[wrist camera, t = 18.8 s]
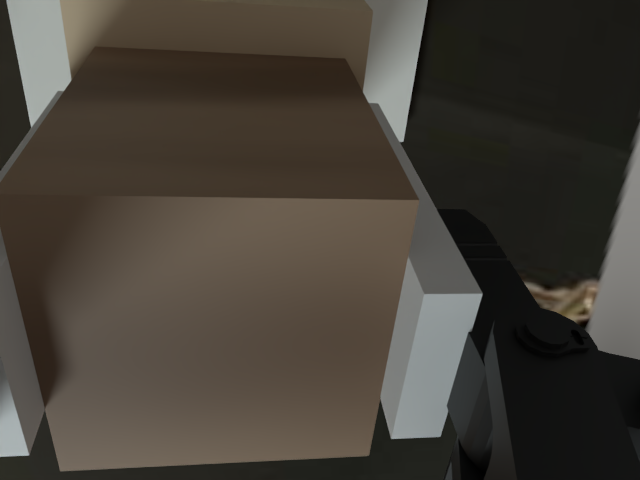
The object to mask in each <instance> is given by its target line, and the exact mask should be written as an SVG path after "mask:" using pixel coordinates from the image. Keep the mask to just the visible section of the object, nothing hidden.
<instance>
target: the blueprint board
mask: <svg viewBox="0 0 640 480" xmlns="http://www.w3.org/2000/svg"><path fill="white" fill-rule="evenodd" d="M6 1H7V6H8V11H9V16H10V21H11V27H12V32H13V37H14V42H15V47H16V52H17V57H18V62H19V67H20V72H21V78H22V83H23V88H24V93H25V98H26V103H27V108H28V113H29V118H30V123H31V128H32V126H33V125H34V124H35V122H36V121H37V119H38V118H39V117H40V115H41V114H42V112H43V111H44V110H45V108H46V107H47V105H48V104H49V103H50V101H51V100H52V98H53V97H54V96H55V94H56V93H57V91H64V90H65V89H66V87H67V86H68V85H69V83H70V82H71V74H70V67H69V60H68V53H67V47H66V40H65V33H64V27H63V20H62V13H61V7H60V0H6ZM365 2H366V3H367V4H368V5H369V7H370V8H371V9H372V10H373V17H372V25H371V33H370V40H369V48H368V56H367V64H366V72H365V80H364V87H363V93H364V95H365V97H366V99H367V101H368V103H378V104H379V106H380V108H381V109H382V111H383V113H384V115H385V117H386V118H387V120H388V122H389V124H390V126H391V128H392V129H393V131H394V133H395V135H396V137H397V138H398V140H399V142H403V140H404V135H405V129H406V123H407V117H408V112H409V106H410V100H411V95H412V89H413V83H414V77H415V72H416V66H417V60H418V54H419V49H420V43H421V37H422V32H423V26H424V20H425V14H426V9H427V3H428V0H365Z"/></svg>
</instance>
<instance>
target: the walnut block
mask: <svg viewBox="0 0 640 480" xmlns="http://www.w3.org/2000/svg"><path fill="white" fill-rule="evenodd" d="M418 205H419V198H418V196H417V194H416V193H415V191H414V189H413V187H412V185H411V183H410V181H409V179H408V177H407V175H406V173H405V172H404V170H403V168H402V166H401V164H400V162H399V160H398V158H397V156H396V154H395V152H394V150H393V149H392V147H391V145H390V143H389V141H388V139H387V137H386V135H385V133H384V131H383V129H382V128H381V126H380V124H379V122H378V120H377V118H376V116H375V114H374V112H373V110H372V108H371V106H370V105H369V103H368V101H367V99H366V97H365V95H364V93H363V91H362V89H361V87H360V85H359V84H358V82H357V80H356V78H355V76H354V74H353V72H352V70H351V68H350V66H349V64H348V62H347V61H346V59H344V58H323V57H302V56H282V55H261V54H240V53H220V52H199V51H178V50H158V49H137V48H116V47H96V46H95V47H94V49H93V50H92V52H91V53H90V55H89V56H88V57H87V59H86V60H85V62H84V63H83V65H82V66H81V67H80V69H79V70H78V72H77V73H76V75H75V76H74V77H73V79H72V80H71V82H70V83H69V85H68V86H67V87H66V89H65V90H64V92H63V93H62V95H61V96H60V98H59V99H58V100H57V102H56V103H55V105H54V106H53V108H52V109H51V110H50V112H49V113H48V115H47V116H46V118H45V119H44V120H43V122H42V123H41V125H40V126H39V128H38V129H37V130H36V132H35V133H34V135H33V136H32V138H31V139H30V140H29V142H28V143H27V145H26V146H25V148H24V149H23V150H22V152H21V153H20V155H19V156H18V158H17V159H16V160H15V162H14V163H13V165H12V166H11V168H10V169H9V171H8V172H7V173H6V175H5V176H4V178H3V179H2V181H1V182H0V229H1V233H2V237H3V241H4V245H5V249H6V253H7V257H8V261H9V265H10V269H11V273H12V277H13V281H14V285H15V289H16V293H17V297H18V301H19V306H20V310H21V314H22V318H23V322H24V326H25V330H26V334H27V338H28V342H29V346H30V350H31V354H32V358H33V362H34V366H35V371H36V375H37V379H38V383H39V387H40V391H41V395H42V399H43V403H44V407H45V411H46V415H47V419H48V423H49V427H50V431H51V435H52V439H53V443H54V448H55V452H56V456H57V460H58V464H59V468H60V471H74V470H94V469H114V468H135V467H155V466H175V465H195V464H215V463H235V462H255V461H275V460H295V459H315V458H335V457H356V456H369V452H370V447H371V442H372V437H373V432H374V427H375V422H376V417H377V412H378V407H379V402H380V395H381V390H382V385H383V380H384V375H385V370H386V365H387V360H388V355H389V350H390V345H391V340H392V335H393V330H394V325H395V320H396V315H397V310H398V305H399V300H400V295H401V290H402V285H403V280H404V275H405V270H406V265H407V259H408V255H409V250H410V245H411V240H412V235H413V230H414V225H415V220H416V215H417V210H418Z"/></svg>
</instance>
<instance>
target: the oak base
mask: <svg viewBox="0 0 640 480" xmlns="http://www.w3.org/2000/svg"><path fill="white" fill-rule="evenodd" d="M60 7H61V13H62V20H63V27H64V33H65V40H66V47H67V53H68V60H69V67H70V74H71V80H72V79H73V77H74V76H75V75H76V73H77V72H78V70H79V69H80V67H81V66H82V65H83V63H84V62H85V60H86V59H87V57H88V56H89V55H90V53H91V52H92V50H93V49H94V47H95V46H96V47H116V48H137V49H158V50H178V51H199V52H220V53H240V54H261V55H282V56H302V57H323V58H344V59H346V61H347V62H348V64H349V66H350V68H351V70H352V72H353V74H354V76H355V78H356V80H357V82H358V84H359V85H360V87H361V89H362V91H363V87H364V80H365V72H366V64H367V56H368V48H369V40H370V33H371V25H372V17H373V10H372V9H371V8H370V7H369V5H368V4H367V3H366V2H365V0H60Z"/></svg>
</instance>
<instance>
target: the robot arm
mask: <svg viewBox="0 0 640 480" xmlns="http://www.w3.org/2000/svg"><path fill="white" fill-rule="evenodd" d="M63 92H64V91H57V93H56V94H55V96H54V97H53V98H52V100H51V101H50V103H49V104H48V105H47V107H46V108H45V110H44V111H43V112H42V114H41V115H40V117H39V118H38V119H37V121H36V122H35V124H34V125H33V126H32V128H31V129H30V131H29V132H28V133H27V135H26V136H25V138H24V139H23V140H22V142H21V143H20V145H19V146H18V147H17V149H16V150H15V152H14V153H13V154H12V156H11V157H10V159H9V160H8V161H7V163H6V164H5V166H4V167H3V168H2V170H1V171H0V182H1V181H2V179H3V178H4V176H5V175H6V173H7V172H8V171H9V169H10V168H11V166H12V165H13V163H14V162H15V160H16V159H17V158H18V156H19V155H20V153H21V152H22V150H23V149H24V148H25V146H26V145H27V143H28V142H29V140H30V139H31V138H32V136H33V135H34V133H35V132H36V130H37V129H38V128H39V126H40V125H41V123H42V122H43V120H44V119H45V118H46V116H47V115H48V113H49V112H50V110H51V109H52V108H53V106H54V105H55V103H56V102H57V100H58V99H59V98H60V96H61V95H62V93H63ZM369 105H370V106H371V108H372V110H373V112H374V114H375V116H376V118H377V120H378V122H379V124H380V126H381V128H382V129H383V131H384V133H385V135H386V137H387V139H388V141H389V143H390V145H391V147H392V149H393V150H394V152H395V154H396V156H397V158H398V160H399V162H400V164H401V166H402V168H403V170H404V172H405V173H406V175H407V177H408V179H409V181H410V183H411V185H412V187H413V189H414V191H415V193H416V194H417V196H418V198H419V205H418V210H417V215H416V220H415V225H414V230H413V235H412V240H411V245H410V250H409V255H408V259H407V265H406V270H405V275H404V280H403V285H402V290H401V295H400V300H399V305H398V310H397V315H396V320H395V325H394V330H393V335H392V340H391V345H390V350H389V355H388V360H387V365H386V370H385V375H384V380H383V385H382V390H381V395H380V398H381V402H382V406H383V410H384V413H385V417H386V421H387V425H388V429H389V432H390V436H391V439H400V438H422V437H440V436H441V433H442V430H443V426H444V423H445V420H446V416H447V413H448V411H449V414H450V416H451V419H452V422H453V424H454V427H455V429H456V432H457V435H458V436H457V439H456V442H455V445H454V448H453V451H452V454H451V457H450V461H449V464H448V467H447V470H446V473H445V476H444V479H443V480H640V360H638V359H633V358H629V357H624V356H619V355H615V354H609V353H606V352H603V351H599V350H598V348H597V346H596V345H595V343H594V342H593V340H592V338H591V337H590V335H589V334H588V333H587V332H586V331H585V330H584V329H583V328H581V327H580V326H579V325H578V324H576V323H575V322H574V321H572V320H570V319H568V318H566V317H564V316H562V315H560V314H558V313H556V312H554V311H550V310H546V309H542V308H540V307H539V305H538V304H537V302H536V301H535V299H534V298H533V296H532V295H531V293H530V292H529V290H528V288H527V287H526V285H525V284H524V282H523V281H522V279H521V278H520V276H519V275H518V273H517V272H516V270H515V269H514V267H513V266H512V264H511V263H510V261H507V259H506V258H507V256H506V255H505V253H504V252H503V250H502V249H501V247H500V246H497V241H496V240H495V238H494V237H493V235H492V234H491V232H490V231H489V229H488V228H487V226H486V225H485V224H484V223H483V222H481V221H480V220H478V219H477V218H476V217H474V216H473V215H472V214H470V213H469V212H468V211H466V210H460V209H436V208H435V206H434V204H433V202H432V200H431V198H430V197H429V195H428V193H427V191H426V189H425V188H424V186H423V184H422V182H421V180H420V178H419V177H418V175H417V173H416V171H415V169H414V168H413V166H412V164H411V162H410V160H409V158H408V157H407V155H406V153H405V151H404V149H403V148H402V146H401V144H400V142H399V140H398V138H397V137H396V135H395V133H394V131H393V129H392V128H391V126H390V124H389V122H388V120H387V118H386V117H385V115H384V113H383V111H382V109H381V108H380V106H379V104H378V103H369ZM44 410H45V407H44V403H43V399H42V395H41V391H40V387H39V383H38V379H37V375H36V371H35V366H34V362H33V358H32V354H31V350H30V346H29V342H28V338H27V334H26V330H25V326H24V322H23V318H22V314H21V310H20V306H19V301H18V297H17V293H16V289H15V285H14V281H13V277H12V273H11V269H10V265H9V261H8V257H7V253H6V249H5V245H4V241H3V237H2V233H1V229H0V457H3V456H25V455H29V454H30V452H31V449H32V446H33V443H34V440H35V437H36V434H37V431H38V428H39V425H40V422H41V419H42V416H43V413H44Z"/></svg>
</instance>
